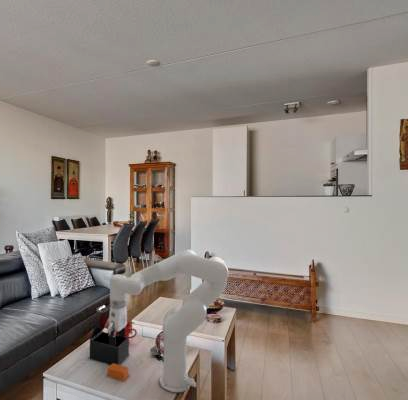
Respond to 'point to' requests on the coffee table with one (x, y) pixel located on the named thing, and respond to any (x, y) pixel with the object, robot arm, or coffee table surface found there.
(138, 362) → the coffee table surface
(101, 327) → the bin lid
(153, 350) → the packaged food
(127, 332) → the ceramic cup
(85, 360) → the coffee table surface
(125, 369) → the orange block
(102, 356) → the bin
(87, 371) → the coffee table surface
